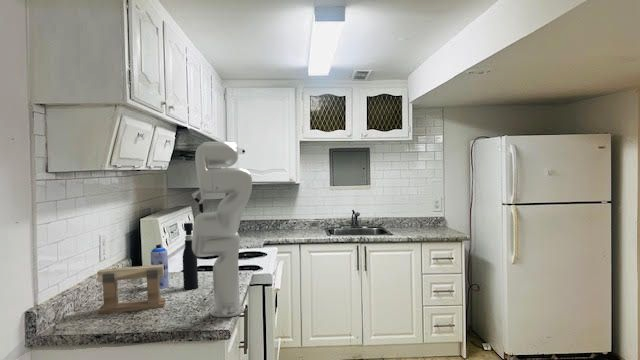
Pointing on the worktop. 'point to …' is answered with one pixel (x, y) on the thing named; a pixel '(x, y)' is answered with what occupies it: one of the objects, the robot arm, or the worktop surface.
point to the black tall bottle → (189, 261)
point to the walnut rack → (113, 306)
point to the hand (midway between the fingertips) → (213, 212)
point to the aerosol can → (161, 258)
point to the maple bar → (130, 272)
